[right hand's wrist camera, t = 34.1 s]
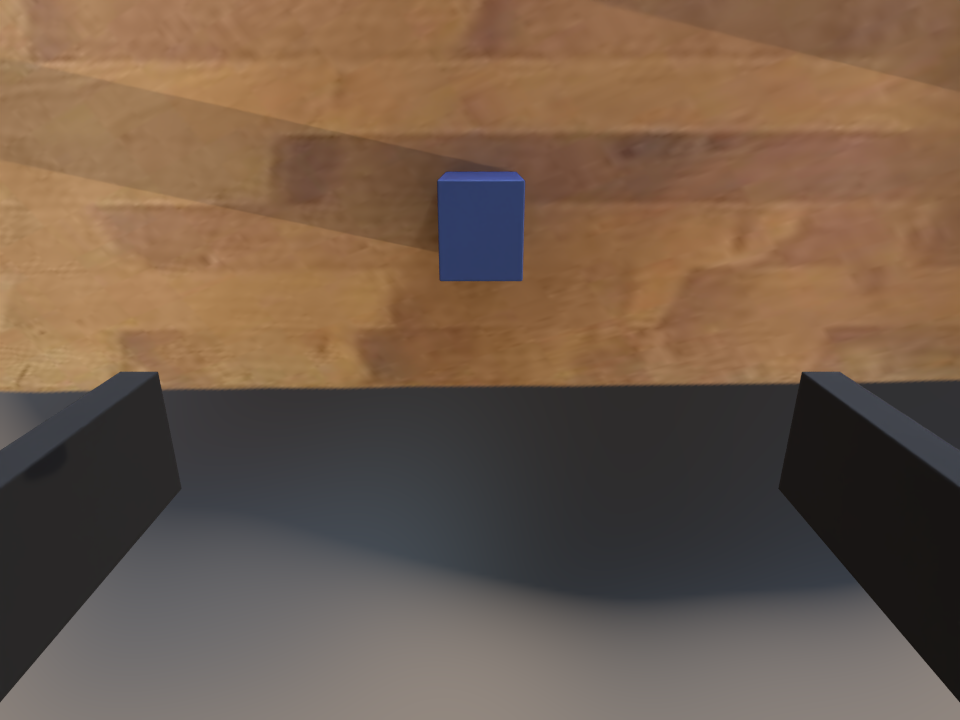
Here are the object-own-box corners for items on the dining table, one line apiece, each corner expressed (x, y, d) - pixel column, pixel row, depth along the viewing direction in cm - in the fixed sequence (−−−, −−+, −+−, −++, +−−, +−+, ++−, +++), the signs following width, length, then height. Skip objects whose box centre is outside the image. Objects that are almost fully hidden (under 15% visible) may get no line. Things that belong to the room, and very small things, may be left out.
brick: (447, 254, 48) (439, 281, 39) (445, 171, 46) (437, 180, 37) (514, 254, 48) (522, 281, 39) (516, 171, 46) (525, 180, 37)
